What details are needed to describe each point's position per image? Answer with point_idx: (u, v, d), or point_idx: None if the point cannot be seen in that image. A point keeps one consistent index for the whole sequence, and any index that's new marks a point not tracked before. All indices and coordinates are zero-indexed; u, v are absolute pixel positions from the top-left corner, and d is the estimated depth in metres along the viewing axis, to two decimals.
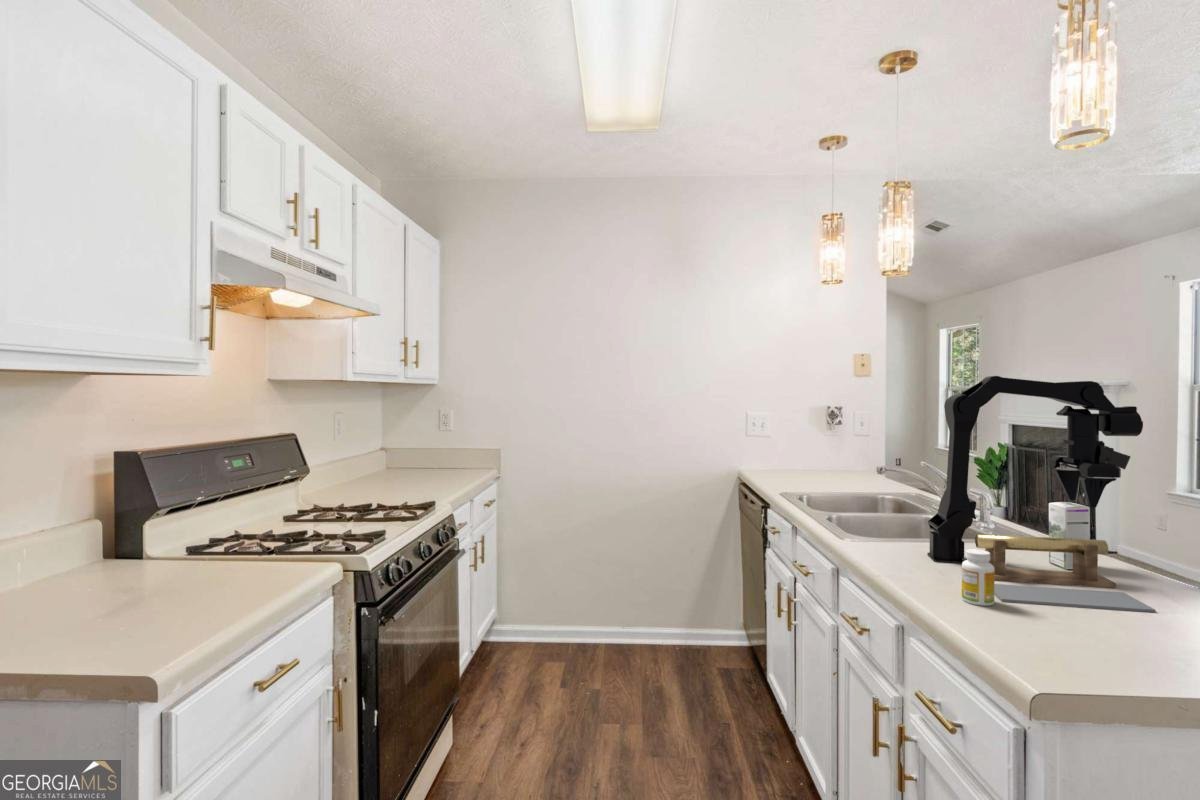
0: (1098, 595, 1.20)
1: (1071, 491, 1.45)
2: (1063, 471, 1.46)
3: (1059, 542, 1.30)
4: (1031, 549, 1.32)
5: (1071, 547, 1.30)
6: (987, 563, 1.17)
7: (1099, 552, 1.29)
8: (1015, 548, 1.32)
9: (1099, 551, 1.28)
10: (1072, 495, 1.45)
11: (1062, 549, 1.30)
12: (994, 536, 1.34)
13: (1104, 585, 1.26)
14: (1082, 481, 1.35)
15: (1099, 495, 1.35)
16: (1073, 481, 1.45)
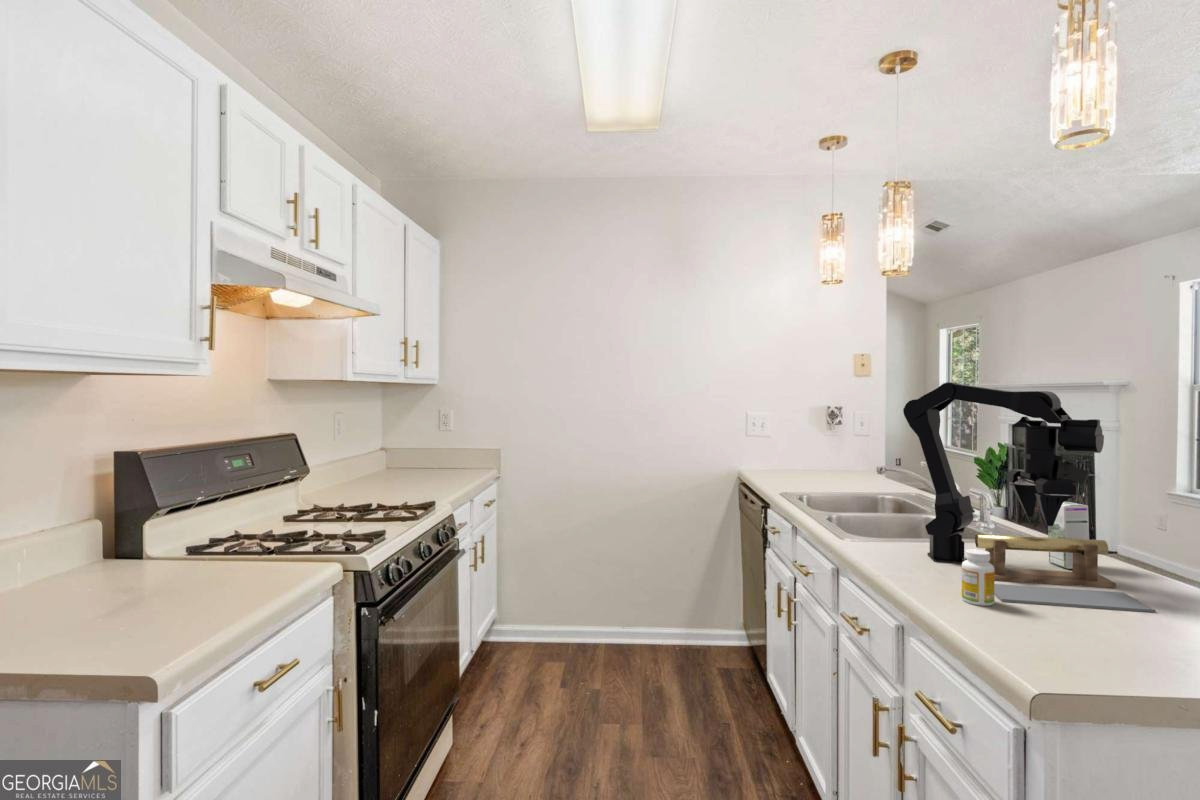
0: (1098, 595, 1.20)
1: (1029, 507, 1.37)
2: (1021, 486, 1.38)
3: (1059, 542, 1.30)
4: (1031, 549, 1.32)
5: (1071, 547, 1.30)
6: (987, 563, 1.17)
7: (1099, 552, 1.29)
8: (1015, 548, 1.32)
9: (1099, 551, 1.28)
10: (1030, 512, 1.37)
11: (1062, 549, 1.30)
12: (994, 536, 1.34)
13: (1104, 585, 1.26)
14: (1038, 498, 1.27)
15: (1056, 513, 1.27)
16: (1031, 497, 1.37)
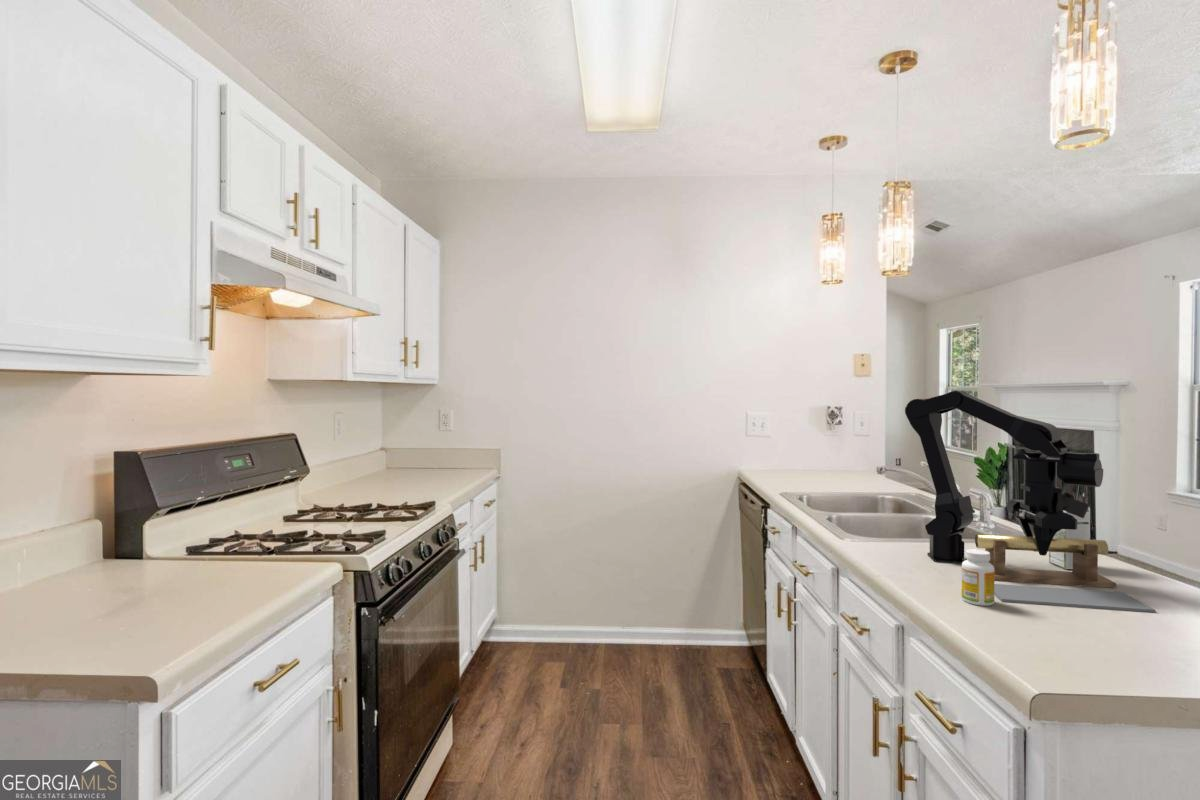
0: (1098, 595, 1.20)
1: None
2: (1026, 520, 1.35)
3: (1059, 542, 1.30)
4: (1031, 549, 1.32)
5: (1071, 547, 1.30)
6: (987, 563, 1.17)
7: (1099, 552, 1.29)
8: (1015, 548, 1.32)
9: (1099, 551, 1.28)
10: None
11: (1062, 549, 1.30)
12: (994, 536, 1.34)
13: (1104, 585, 1.26)
14: (1031, 528, 1.30)
15: (1048, 543, 1.30)
16: None
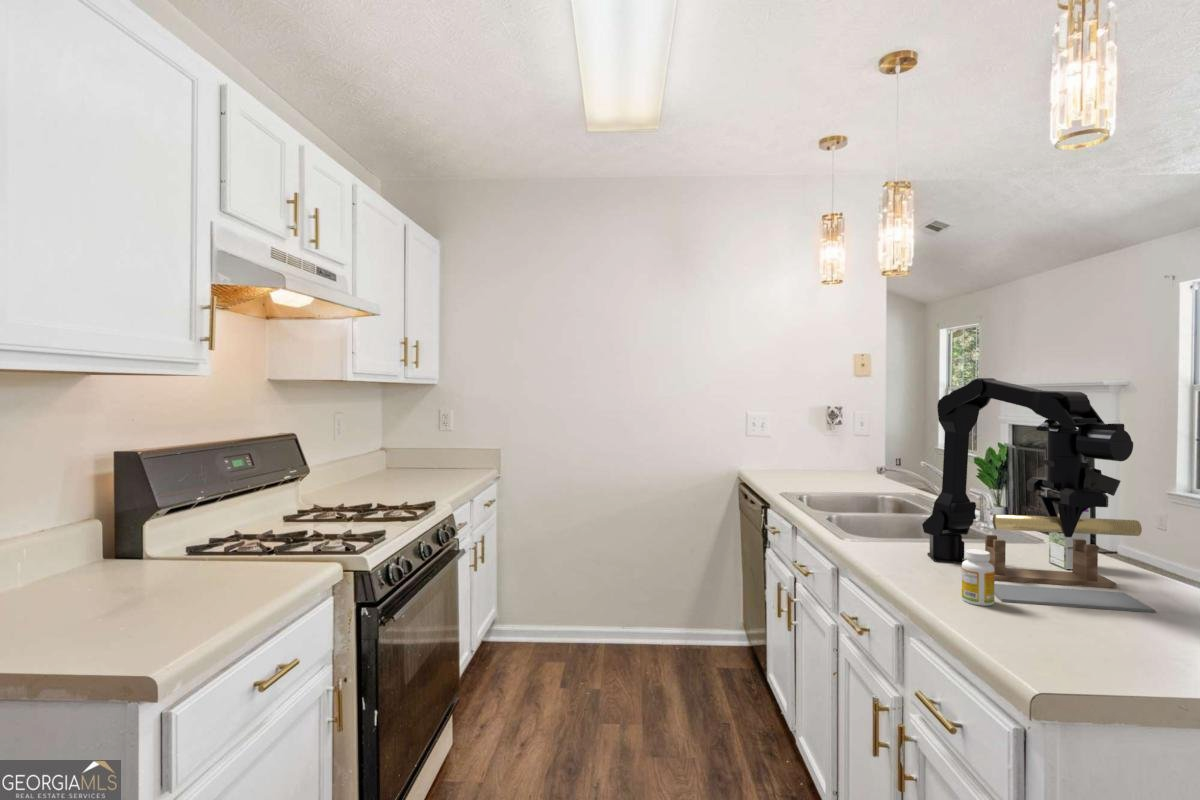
0: (1098, 595, 1.20)
1: None
2: (1049, 498, 1.22)
3: (1086, 522, 1.18)
4: (1055, 530, 1.19)
5: (1100, 528, 1.17)
6: (987, 563, 1.17)
7: (1131, 533, 1.16)
8: (1037, 529, 1.20)
9: (1131, 532, 1.16)
10: None
11: (1090, 530, 1.18)
12: (1014, 516, 1.21)
13: (1104, 585, 1.26)
14: (1055, 507, 1.18)
15: (1075, 524, 1.17)
16: None
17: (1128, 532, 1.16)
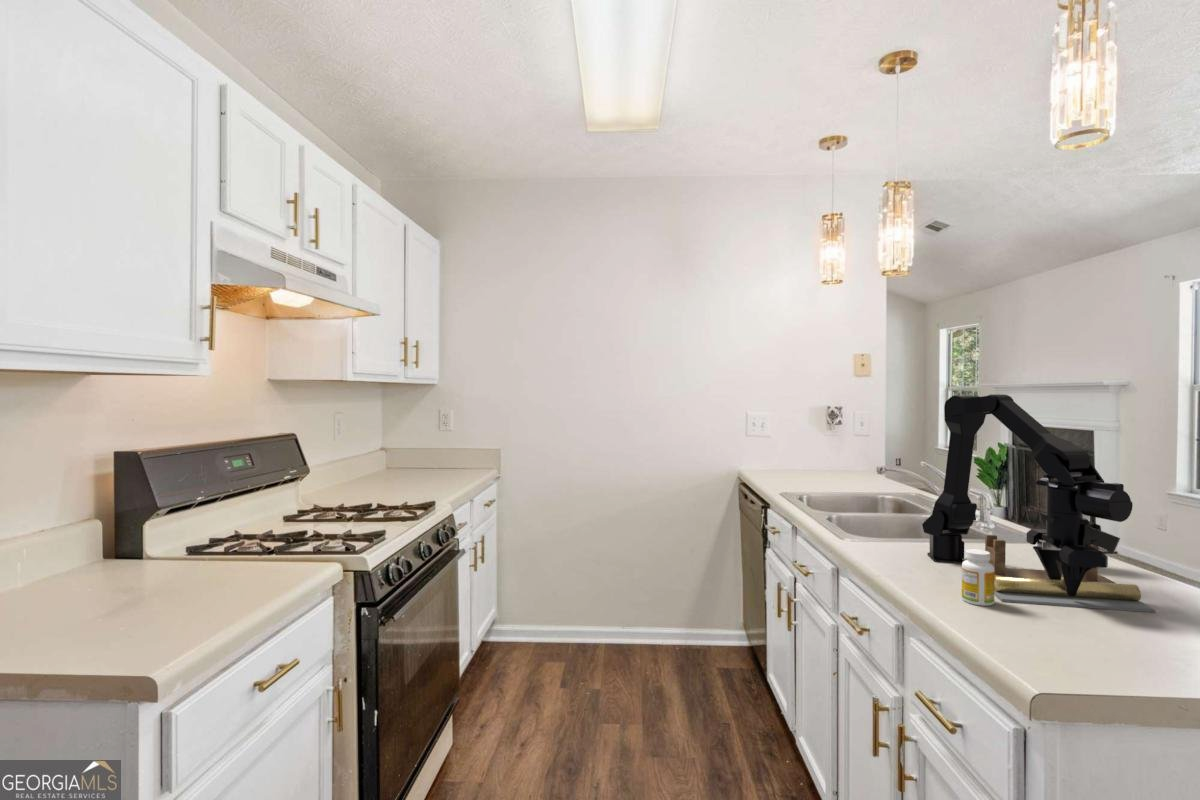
0: None
1: (1055, 575, 1.23)
2: (1046, 551, 1.24)
3: (1086, 586, 1.18)
4: (1055, 594, 1.19)
5: (1100, 592, 1.17)
6: (987, 563, 1.17)
7: (1131, 598, 1.16)
8: (1037, 592, 1.20)
9: (1131, 597, 1.16)
10: None
11: (1089, 594, 1.18)
12: (1014, 579, 1.22)
13: None
14: (1059, 566, 1.16)
15: (1078, 583, 1.16)
16: None
17: (1128, 598, 1.16)
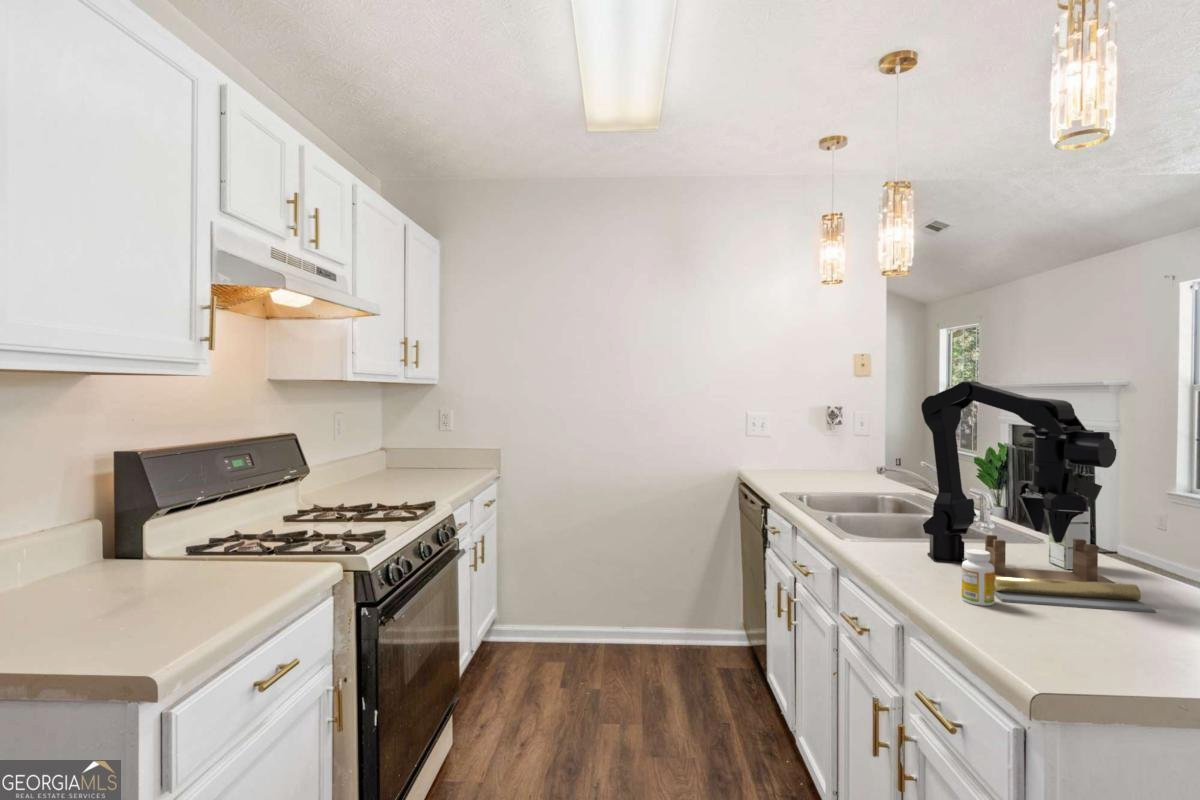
0: None
1: (1037, 521, 1.30)
2: (1029, 499, 1.31)
3: (1086, 586, 1.18)
4: (1055, 594, 1.19)
5: (1100, 592, 1.17)
6: (987, 563, 1.17)
7: (1131, 598, 1.16)
8: (1037, 592, 1.20)
9: (1131, 597, 1.16)
10: (1038, 526, 1.30)
11: (1089, 594, 1.18)
12: (1014, 579, 1.22)
13: None
14: (1046, 513, 1.21)
15: (1065, 530, 1.20)
16: (1040, 510, 1.30)
17: (1128, 598, 1.16)
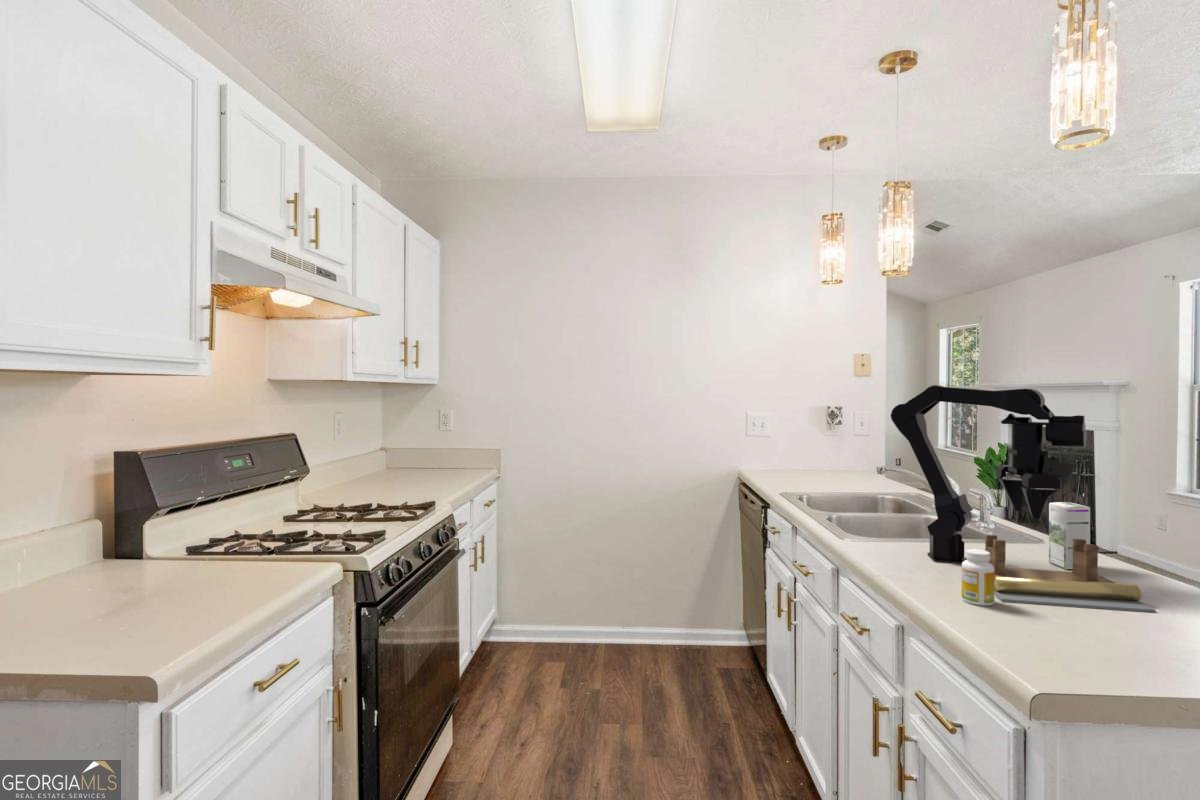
0: None
1: (1017, 502, 1.41)
2: (1009, 481, 1.42)
3: (1086, 586, 1.18)
4: (1055, 594, 1.19)
5: (1100, 593, 1.17)
6: (987, 563, 1.17)
7: (1131, 598, 1.16)
8: (1037, 592, 1.20)
9: (1131, 597, 1.16)
10: (1018, 506, 1.41)
11: (1089, 594, 1.18)
12: (1014, 579, 1.21)
13: None
14: (1024, 492, 1.31)
15: (1041, 507, 1.31)
16: (1019, 491, 1.41)
17: (1128, 598, 1.16)
